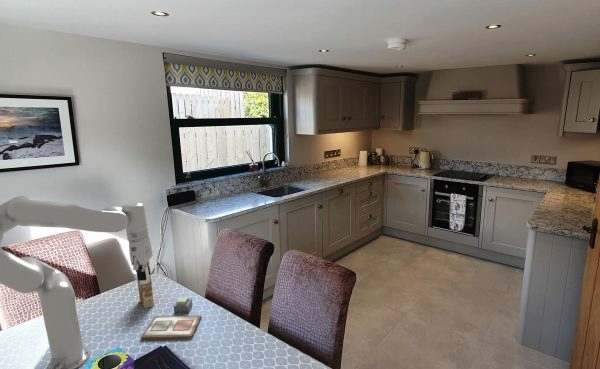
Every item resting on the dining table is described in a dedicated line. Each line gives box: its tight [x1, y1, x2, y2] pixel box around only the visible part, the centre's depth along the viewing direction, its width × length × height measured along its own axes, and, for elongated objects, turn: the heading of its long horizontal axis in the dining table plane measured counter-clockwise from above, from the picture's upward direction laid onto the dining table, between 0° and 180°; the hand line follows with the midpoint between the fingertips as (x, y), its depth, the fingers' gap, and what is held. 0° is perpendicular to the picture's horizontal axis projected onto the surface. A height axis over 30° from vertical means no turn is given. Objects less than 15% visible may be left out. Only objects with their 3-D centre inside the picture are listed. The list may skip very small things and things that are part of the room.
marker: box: [138, 263, 150, 284], centre depth 139 cm, size 4×4×9 cm
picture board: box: [140, 314, 202, 341], centre depth 143 cm, size 14×20×1 cm
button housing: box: [173, 297, 193, 314], centre depth 157 cm, size 6×6×4 cm
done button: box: [176, 296, 189, 305], centre depth 156 cm, size 4×4×2 cm
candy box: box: [136, 274, 155, 309], centre depth 162 cm, size 9×4×15 cm, turn 39°
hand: (144, 277), depth 140 cm, fingers closed on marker, 3 cm apart
